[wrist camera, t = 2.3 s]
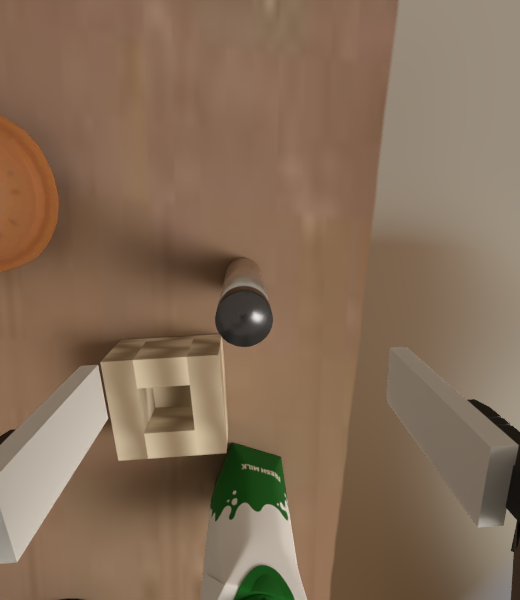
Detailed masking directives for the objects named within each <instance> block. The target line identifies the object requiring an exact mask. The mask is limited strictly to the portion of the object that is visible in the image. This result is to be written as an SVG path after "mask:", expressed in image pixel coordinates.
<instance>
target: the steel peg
mask: <svg viewBox="0 0 520 600" xmlns="http://www.w3.org/2000/svg"><path fill="white" fill-rule="evenodd" d="M215 322H216V327H217V330H218V332H219V334H220V335H221V336H222V338H223V339H224V340H226V341H227V342H228V343H230V344H233V345H235V346H240V347H248V346H253V345H255V344H257V343H259V342H261V341H262V340H263V339H265V338H266V336H267V335H268V334H269V332H270V330H271V327H272V323H273V317H272V312H271V308H270V304H269V301H268V297H267V293H266V290H265V286H264V282H263V279H262V275H261V271H260V268H259V267H258V265H257V264H256V263H255V262H254V261H252V260H251V259H248V258H239V259H236V260H234V261H233V262H232V263H231V264H230V265H229V266H228V268H227V271H226V275H225V279H224V283H223V287H222V292H221V296H220V300H219V304H218V308H217V312H216V317H215Z"/></svg>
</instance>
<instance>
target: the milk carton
mask: <svg viewBox="0 0 520 600" xmlns="http://www.w3.org/2000/svg"><path fill="white" fill-rule="evenodd" d="M201 600H307V598H306V594H305V591H304V588H303V585H302V581H301V578H300V575H299V571H298V567H297V560H296V554H295V547H294V541H293V534H292V528H291V521H290V514H289V508H288V501H287V494H286V487H285V481H284V474H283V467H282V461H281V457H279V456H275V455H272V454H269V453H265V452H262V451H259V450H255V449H252V448H249V447H245V446H242V445H238V444H235V443H232V446H231V448H230V450H229V453H228V455H227V457H226V460H225V462H224V465H223V467H222V469H221V472H220V474H219V476H218V479H217V481H216V483H215V487H214V491H213V495H212V499H211V505H210V513H209V522H208V531H207V540H206V549H205V558H204V569H203V580H202V582H201Z"/></svg>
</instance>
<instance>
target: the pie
mask: <svg viewBox="0 0 520 600" xmlns="http://www.w3.org/2000/svg"><path fill="white" fill-rule="evenodd" d="M58 208H59V197H58V192H57V188H56V183H55V178H54V175H53V172H52V170H51V168H50V166H49V164H48V162H47V160H46V158H45V155H44V153H43V151H42V150H41V149H40V148H39V146H38V145H37V144H36V143H35V142H34V141H33V139H32V138H31V137H30V136H29V135H28V134H27V132H26V131H25V130H24V129H23V128H21V127H19V126H18V125H16V124H14V123H13V122H11V121H10V120H8V119H6V118H5V117H3V116H2V115H0V272H4V271H7V270H10V269H14V268H17V267H20V266H22V265H24V264H26V263H28V262H30V261H31V260H33V259H35V258H37V257H38V256H39V255H40V253H41V252H42V251H43V249H44V248H45V247H46V246H47V244H48V243H49V242H50V240H51V237H52V235H53V232H54V230H55V227H56V225H57V222H58Z"/></svg>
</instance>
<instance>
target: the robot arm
mask: <svg viewBox="0 0 520 600" xmlns="http://www.w3.org/2000/svg"><path fill="white" fill-rule="evenodd" d="M387 383H388V384H387V397H386V402H387V403H388V404H389V406H390V407H391V409H392V410H393V411H394V413H395V414H396V415H397V417H398V418H399V419H400V421H401V422H402V423H403V425H404V426H405V428H406V429H407V431H408V432H409V433H410V435H411V436H412V437H413V439H414V440H415V442H416V443H417V444H418V446H419V447H420V448H421V450H422V451H423V453H424V454H425V455H426V456H427V458H428V460H429V461H430V462H431V464H432V465H433V466H434V468H435V469H436V471H437V472H438V473H439V475H440V476H441V477H442V478H443V480H444V481H445V483H446V484H447V486H448V487H449V488H450V490H451V491H452V493H453V494H454V495H455V497H456V498H457V499H458V500H459V502H460V504H461V505H462V506H463V508H464V509H465V510H466V512H467V513H468V515H469V516H470V517H471V519H472V520H473V522H474V523H475V524H476V526H477V527H489V526H502V525H504V519H505V514H506V509H508V510H509V511H510V513H512V515H513V516H514V517H515V518H516V519H517V524H516V529H515V534H514V539H513V543H512V549H511V551H513V552H514V559H513V576H512V591H511V600H520V432H519V431H518V430H517V429H515V428H514V427H513V426H510V424H509V423H508V422H507V421H506V420H505V419H503V418H501V416H500V415H499V414H497V413H496V412H495V411H493V410H492V409H491V408H490V407H488V406H486V405H484V404H482V403H480V402H478V401H477V400H474V399H473V400H466V399H465V398H464V397H463V396H462V395H461V394H459V393H458V392H457V391H456V390H455V389H454V388H453V387H451V386H450V385H449V384H448V383H447V382H446V381H445V380H443V379H442V378H441V377H440V376H439V375H438V374H437V373H435V372H434V371H433V370H432V369H431V368H430V367H429V366H427V365H426V364H425V363H424V362H423V361H422V360H420V359H419V358H418V357H417V356H416V355H415V354H414V353H412V352H411V351H410V350H409V349H408V348H407V347H399V348H390V352H389V368H388V382H387ZM107 420H108V415H107V410H106V405H105V399H104V394H103V388H102V383H101V378H100V372H99V367H98V365H86V366H80V367H79V368H78V369H77V370H76V371H75V372H74V373H73V374H72V375H71V376H70V377H69V378H68V379H67V380H66V381H65V382H64V383H63V384H62V385H61V386H60V387H59V388H58V389H57V390H56V391H54V392H53V393H52V394H51V395H50V396H49V397H48V398H47V399H46V400H45V401H44V402H43V403H42V404H41V405H40V406H39V407H38V408H37V409H36V410H35V411H34V412H33V413H32V414H31V415H30V416H29V417H28V418H27V419H26V420H25V421H24V422H23V423H22V424H21V425H20V426H19V427H18V428H17V429H15V430H9V431H8V432H6V433H5V434H3V435H1V436H0V564H2V563H15V562H18V560H19V559H20V557H21V555H22V554H23V552H24V551H25V549H26V548H27V546H28V544H29V543H30V541H31V540H32V538H33V536H34V535H35V533H36V532H37V530H38V529H39V527H40V525H41V524H42V522H43V521H44V519H45V518H46V516H47V514H48V513H49V511H50V510H51V508H52V506H53V505H54V503H55V502H56V500H57V499H58V497H59V495H60V494H61V492H62V491H63V489H64V488H65V486H66V484H67V483H68V481H69V480H70V478H71V477H72V475H73V473H74V472H75V470H76V469H77V467H78V465H79V464H80V462H81V461H82V459H83V458H84V456H85V454H86V453H87V451H88V450H89V448H90V447H91V445H92V443H93V442H94V440H95V439H96V437H97V436H98V434H99V432H100V431H101V429H102V428H103V426H104V424H105V423H106V421H107Z"/></svg>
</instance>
